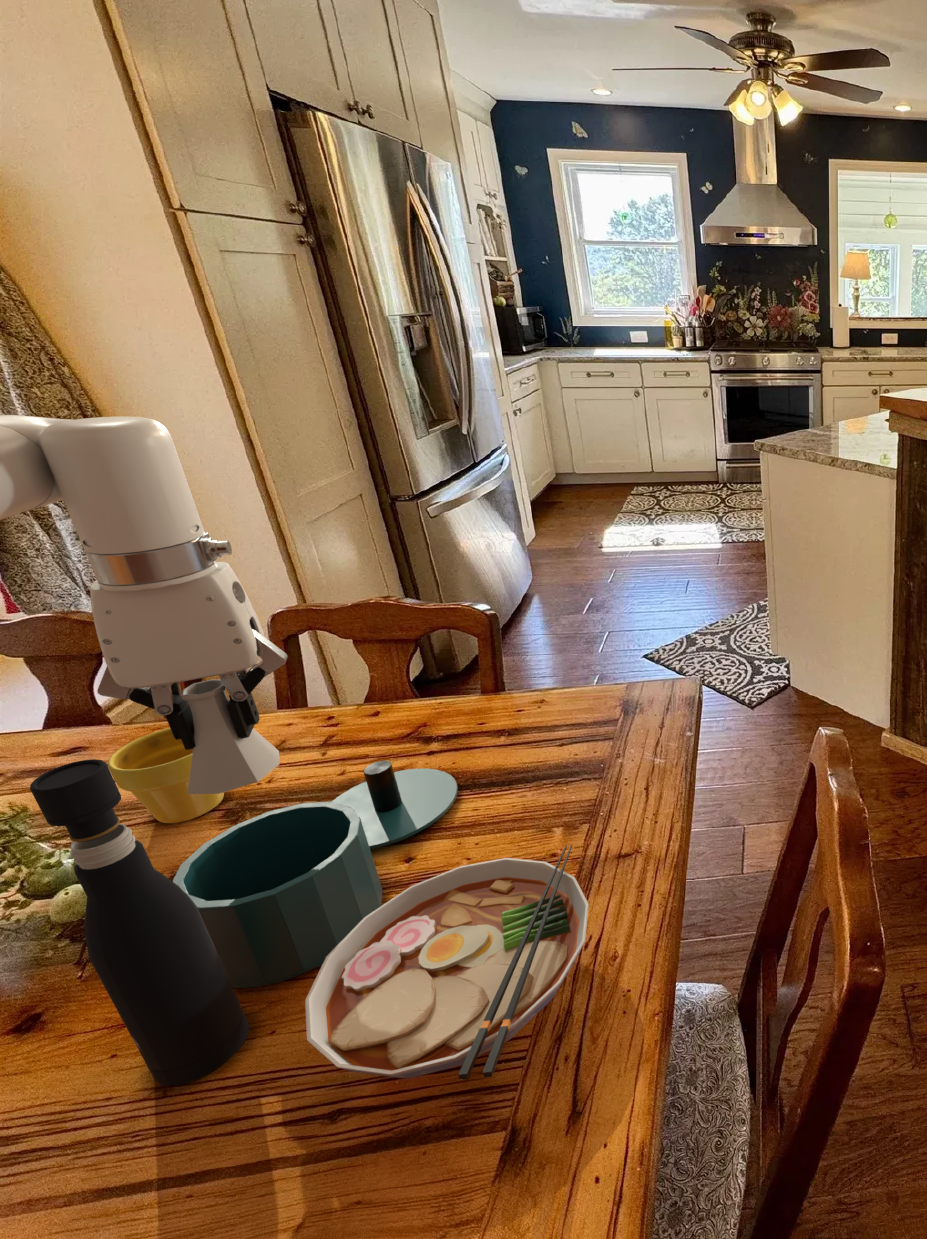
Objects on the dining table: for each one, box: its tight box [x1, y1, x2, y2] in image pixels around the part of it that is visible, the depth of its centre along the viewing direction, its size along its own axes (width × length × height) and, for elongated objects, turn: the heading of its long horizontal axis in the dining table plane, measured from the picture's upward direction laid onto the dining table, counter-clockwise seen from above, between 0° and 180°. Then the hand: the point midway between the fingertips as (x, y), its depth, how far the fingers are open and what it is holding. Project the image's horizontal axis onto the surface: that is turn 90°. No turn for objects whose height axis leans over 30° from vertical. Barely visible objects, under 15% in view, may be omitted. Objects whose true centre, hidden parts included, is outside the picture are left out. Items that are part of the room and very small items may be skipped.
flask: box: [181, 679, 281, 794], centre depth 68 cm, size 7×7×10 cm
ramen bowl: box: [304, 844, 590, 1081], centre depth 66 cm, size 25×23×8 cm
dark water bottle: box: [29, 758, 250, 1087], centre depth 57 cm, size 6×6×30 cm
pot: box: [171, 801, 383, 989], centre depth 73 cm, size 15×15×10 cm
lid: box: [331, 760, 459, 850], centre depth 91 cm, size 16×16×7 cm
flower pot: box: [107, 727, 225, 824], centre depth 90 cm, size 10×10×10 cm
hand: (221, 735), depth 68 cm, fingers closed on flask, 3 cm apart
